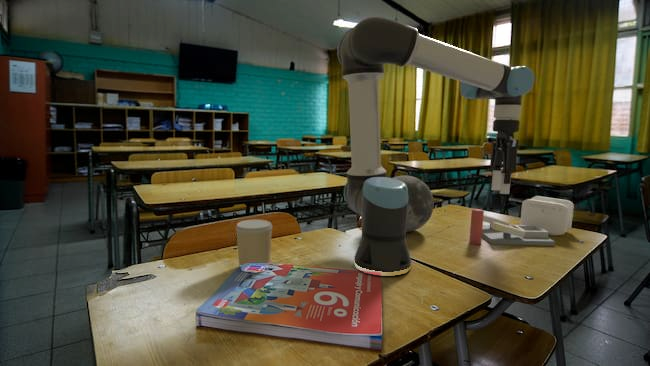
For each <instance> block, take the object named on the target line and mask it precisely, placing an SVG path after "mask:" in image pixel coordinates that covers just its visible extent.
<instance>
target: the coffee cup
mask: <svg viewBox="0 0 650 366" xmlns="http://www.w3.org/2000/svg"><path fill="white" fill-rule="evenodd" d="M235 230H236V231H235V232H236V244H237V251H238V253H237V255H238V265H239V266H240V265H243V264H245V263H270V264H271V249H272V247H271V246H272V234H273V233H272V231H273V224H272V223H271V221H269V220H267V219H266V220H265V219H258V218H257V219H256V218H255V219H254V218H253V219H246V220H240V221H239V222H237V223H236V226H235Z"/></svg>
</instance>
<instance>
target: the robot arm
mask: <svg viewBox="0 0 650 366" xmlns="http://www.w3.org/2000/svg"><path fill="white" fill-rule="evenodd" d="M336 50H337V52H336V53H337V59H338V62H339V64H340V65H341V67H342V68H341V69H342V78H343V79H344V80H345V81H346V82H347V84H348V85H347V86H348V108H349V109H348V110H349V129H350V133H349V134H350V136H349V137H350V156H351V157H350V158H351V167H350V168H349V169H348V170H347V171H346V180H347V181H346V183H345V185H344V188H343V197H344V200H345V203H346V204H347V206H348V207H349V209H350V210H352V211H353V212H354V213H355V214H357V215H358V216H360V217H361V238H360V241H359V243H358V247H357V249H356V252H355V255H354V260H353V261H355V263H356V264H357V265H358V266H360V267H362V268H366V269H369V270H375V271H382V272H394V271H400V270H404V269H407V268H409V267H410V265H411V266H412V258H411V255H410V251H409V248H408V245H407V244H408V243H407V239H406V238H407V232H406V224H407V207H408V188H407V186H406V184H405V183H403V182H402V181H400V180H397V179H392V178H393V177H388V175H387V170H386V169H385V168H384V167H383V166H382V161H381V160H382V156H381V153H382V151H381V149H382V148H381V121H380V119H381V118H380V116H381V113H380V82H379V81H380V80H381V79H382V78H383V77H384V74H385V64H388V65H395V66H398V67H401V68H402V67H405V66H407V65H409V66H410V67H411V66H412V67H414V68H417V69H421V70H423V71H426V72H431V73H432V74H436V75H438V76H443V77H444V78H449V79H451V80H455V81H458V82H460V83H459V84H460V85H459V92H460V95H461V96H462V98H465V99H471V100H494V107H493V118H494V120H493V122H492V131H493V132H496V136H495V137H492V139H491V145H492V146H491V154H490V163H489V166H490V167H489V168H491V169H492V178H491V179H492V180H491V189H490V190H491V191H499V194H501V195H510V192H511V191H510V190H511V189H510V188H511V179H512V174H513V173H516V172H517V171H516V170H517V155H518V146H519V143H520V142H519V139H515V136H514V135H515V134H514V133H518V132H519V131H520V125H521V124H520V123H521V122H520V120H519V119H520V118H521V112H522V111H523V110H522V102H523V96H524V95H527V94H528V93H529V92H530V91H531V90H532V89H533V87H534V84H535V74H534V71H533V70H532V69H531V67H528V66H525V65H521V66H520V65H516V66H510V65H507V64H504V63H502V62H497V61H495V60H492V59H489V58H486V57H483V56H481V55H478V54H475V53H473V52H471V51H467V50H465V49H462V48H458V47H456V46H453V45H450V44H448V43H445V42H442V41H440V40H437V39H434V38H431V37H428V36H425V35H422V34H420V33H419V31H418V29H417V28H416V27H413V26H411V25H408V24H406V23H402V22H399V21H397V20H393V19H390V18H386V17H381V16H371V17H370V16H369V17H366V18H364V19H362V20H360V21H359V22H358V23H357V24H356V25H355V26H353V27H352V28H350V29H348V30H347V31H346V32H345V33H344V34H343V36H342V37H341V39H340V40H339V42H338V45H337V49H336Z"/></svg>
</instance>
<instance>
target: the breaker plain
mask: <svg viewBox="0 0 650 366" xmlns="http://www.w3.org/2000/svg"><path fill="white" fill-rule="evenodd" d="M492 221H493V222H497V223H500V224H504V225H507V226H510V222H509V221H507V220H504V219H501V218H496V217H494V216H490V215H487V214H484V215H483V223H488V224H490V223H491V224H492Z"/></svg>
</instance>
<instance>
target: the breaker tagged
mask: <svg viewBox="0 0 650 366" xmlns="http://www.w3.org/2000/svg"><path fill="white" fill-rule="evenodd" d="M511 226H512V225H509V226H507V225H504V224H500V223H497V222H493V221H492V224H491V226H490V227H491V228H493V229H494V230H498V231H501V232H505V233H508V234H512V235H515V236H519V237H522V238H523V237H524V234H525V232H524V231H523V230H521V229H518V228H514V227H511Z"/></svg>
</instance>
